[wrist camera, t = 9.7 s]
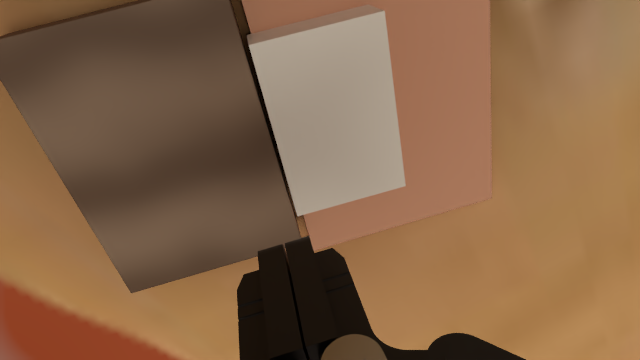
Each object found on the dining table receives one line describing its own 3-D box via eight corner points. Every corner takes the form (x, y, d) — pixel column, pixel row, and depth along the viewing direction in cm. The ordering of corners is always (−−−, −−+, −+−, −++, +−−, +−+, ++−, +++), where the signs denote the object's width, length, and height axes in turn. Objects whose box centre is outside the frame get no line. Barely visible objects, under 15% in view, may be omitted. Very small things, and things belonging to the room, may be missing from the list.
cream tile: (246, 34, 20) (248, 45, 18) (368, 4, 20) (384, 10, 18) (291, 192, 24) (297, 216, 22) (390, 165, 25) (405, 186, 23)
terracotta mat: (220, -74, 19) (219, -75, 18) (477, -137, 19) (488, -141, 18) (311, 241, 28) (313, 250, 27) (483, 190, 28) (491, 198, 27)
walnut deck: (7, 33, 19) (-22, 44, 17) (224, -22, 20) (223, -18, 17) (139, 264, 26) (131, 293, 24) (296, 219, 27) (302, 243, 24)
